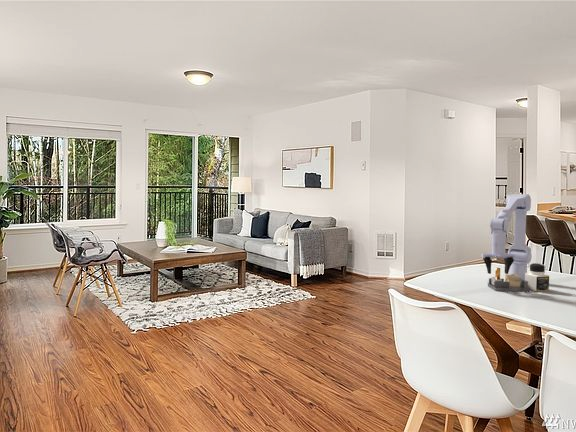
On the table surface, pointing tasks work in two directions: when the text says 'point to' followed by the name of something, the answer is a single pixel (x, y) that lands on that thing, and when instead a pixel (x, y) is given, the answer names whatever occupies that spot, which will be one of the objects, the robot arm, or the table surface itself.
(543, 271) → the medicine bottle
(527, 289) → the press frame
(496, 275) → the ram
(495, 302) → the table surface
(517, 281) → the light wooden block
